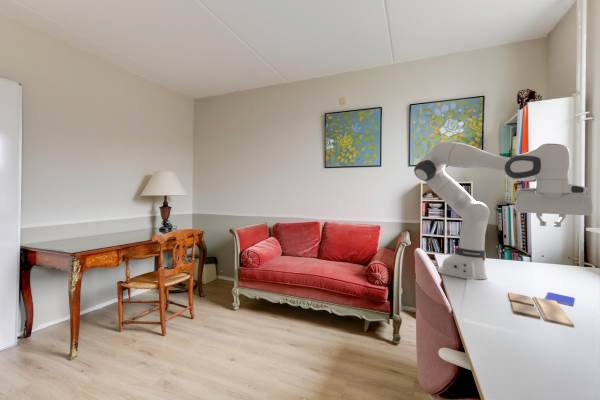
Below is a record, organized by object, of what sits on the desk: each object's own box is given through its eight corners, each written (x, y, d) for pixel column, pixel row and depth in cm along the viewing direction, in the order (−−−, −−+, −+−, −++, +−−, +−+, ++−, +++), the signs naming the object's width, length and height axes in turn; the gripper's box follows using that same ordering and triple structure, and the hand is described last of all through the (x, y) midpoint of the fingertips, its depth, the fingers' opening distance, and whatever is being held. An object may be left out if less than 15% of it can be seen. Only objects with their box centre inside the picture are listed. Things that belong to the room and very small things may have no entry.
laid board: (544, 322, 88) (544, 318, 88) (532, 299, 107) (532, 296, 107) (573, 328, 84) (574, 324, 84) (556, 304, 103) (556, 300, 103)
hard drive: (573, 305, 99) (575, 297, 108) (543, 298, 105) (547, 291, 114) (573, 309, 99) (574, 301, 108) (543, 302, 106) (547, 295, 114)
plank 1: (510, 302, 103) (510, 299, 103) (507, 295, 111) (508, 292, 111) (533, 307, 99) (534, 304, 99) (529, 299, 107) (530, 296, 107)
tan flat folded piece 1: (513, 314, 93) (513, 310, 93) (510, 304, 101) (511, 301, 101) (540, 320, 89) (540, 316, 89) (535, 310, 97) (535, 306, 97)
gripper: (515, 187, 99) (514, 224, 99) (595, 188, 87) (593, 229, 88) (514, 188, 104) (512, 223, 104) (588, 188, 92) (586, 228, 93)
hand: (549, 226), depth 96 cm, fingers open, 2 cm apart
